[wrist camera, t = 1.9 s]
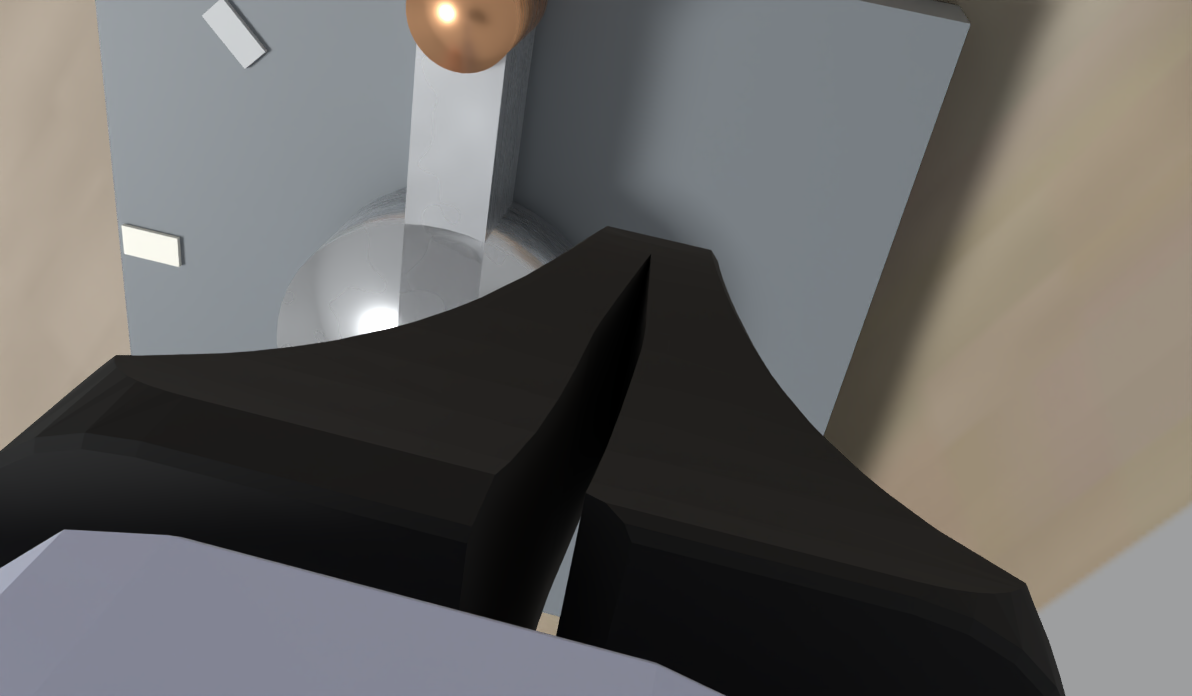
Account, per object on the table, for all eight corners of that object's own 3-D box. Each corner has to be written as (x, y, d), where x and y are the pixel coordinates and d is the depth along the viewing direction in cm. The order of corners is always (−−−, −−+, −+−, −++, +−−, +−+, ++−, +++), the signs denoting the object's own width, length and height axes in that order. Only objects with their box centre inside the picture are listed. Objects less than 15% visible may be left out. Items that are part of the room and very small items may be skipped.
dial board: (744, 620, 26) (741, 667, 25) (177, 473, 27) (144, 510, 26) (959, 5, 18) (971, 25, 16) (127, -169, 19) (75, -164, 18)
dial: (584, 479, 22) (563, 543, 21) (317, 411, 23) (273, 468, 21) (686, -26, 17) (670, -1, 15) (325, -103, 17) (267, -87, 15)
